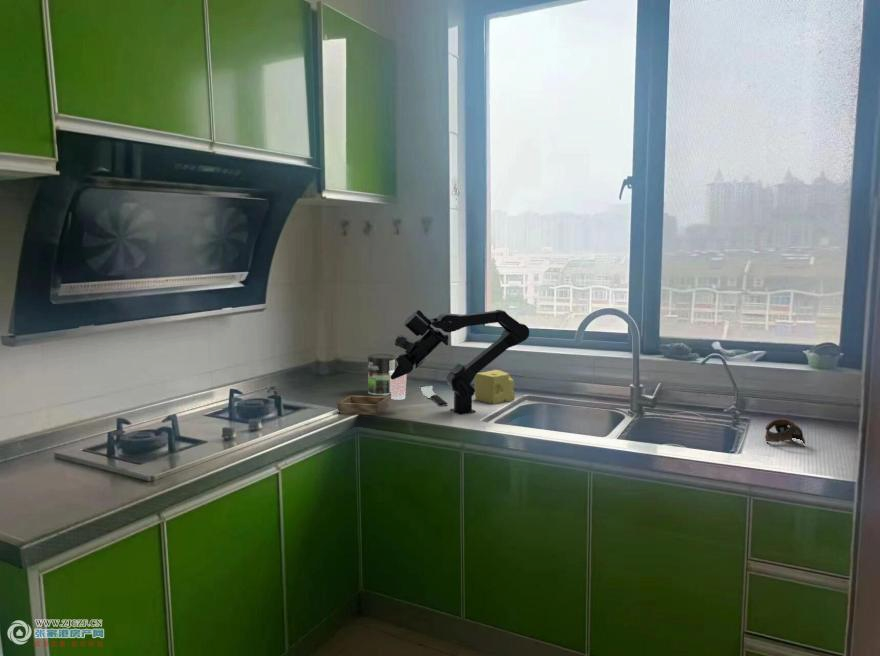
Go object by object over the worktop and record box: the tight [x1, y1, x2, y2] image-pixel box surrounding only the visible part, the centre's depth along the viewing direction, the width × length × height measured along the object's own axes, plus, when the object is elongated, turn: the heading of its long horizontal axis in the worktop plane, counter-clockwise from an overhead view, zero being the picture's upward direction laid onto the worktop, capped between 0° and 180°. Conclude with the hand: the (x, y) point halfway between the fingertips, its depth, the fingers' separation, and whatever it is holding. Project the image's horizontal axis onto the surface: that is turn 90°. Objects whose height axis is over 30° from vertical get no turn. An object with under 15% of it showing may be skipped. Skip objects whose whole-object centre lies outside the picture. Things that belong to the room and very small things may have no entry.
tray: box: [336, 394, 390, 416], centre depth 214 cm, size 14×12×3 cm
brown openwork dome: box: [764, 418, 806, 444], centre depth 178 cm, size 12×10×8 cm
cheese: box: [474, 369, 516, 405], centre depth 230 cm, size 10×11×10 cm
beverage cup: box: [389, 355, 408, 401], centre depth 211 cm, size 6×6×14 cm
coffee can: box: [367, 353, 396, 396], centre depth 241 cm, size 10×10×14 cm
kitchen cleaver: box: [421, 385, 448, 407], centre depth 235 cm, size 31×2×10 cm
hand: (394, 376), depth 211 cm, fingers closed on beverage cup, 6 cm apart
